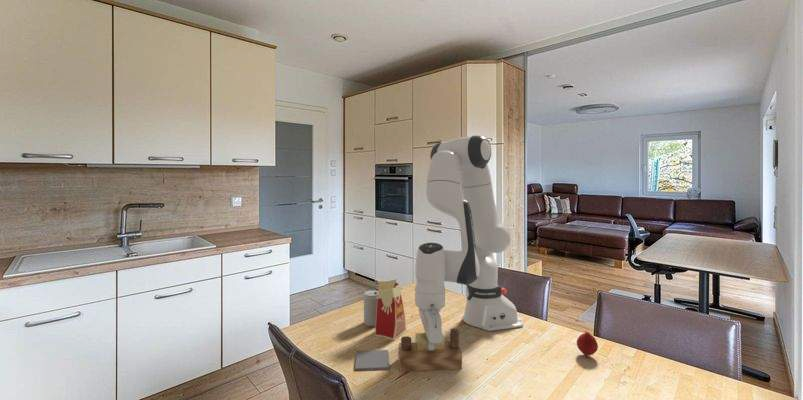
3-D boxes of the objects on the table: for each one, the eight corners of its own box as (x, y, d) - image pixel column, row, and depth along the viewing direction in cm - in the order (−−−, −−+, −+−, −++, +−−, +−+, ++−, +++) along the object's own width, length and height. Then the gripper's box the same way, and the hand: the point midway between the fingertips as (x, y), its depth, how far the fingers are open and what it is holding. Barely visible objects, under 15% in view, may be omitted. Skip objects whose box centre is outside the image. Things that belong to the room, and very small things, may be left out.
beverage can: (380, 327, 131) (380, 295, 130) (362, 327, 131) (362, 295, 130) (381, 320, 137) (381, 289, 136) (364, 320, 137) (364, 289, 136)
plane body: (456, 356, 111) (456, 325, 110) (461, 368, 104) (462, 335, 103) (398, 358, 110) (398, 327, 109) (400, 371, 103) (400, 338, 102)
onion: (595, 352, 114) (596, 328, 113) (598, 362, 108) (600, 336, 107) (575, 349, 115) (576, 325, 115) (577, 358, 110) (578, 333, 109)
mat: (388, 351, 114) (388, 349, 114) (389, 369, 104) (389, 367, 104) (356, 352, 113) (356, 350, 113) (355, 370, 103) (355, 368, 103)
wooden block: (441, 343, 109) (441, 332, 109) (444, 350, 104) (444, 339, 104) (415, 344, 108) (415, 333, 108) (417, 351, 104) (417, 340, 103)
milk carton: (406, 330, 129) (406, 276, 127) (395, 341, 121) (395, 283, 119) (384, 325, 133) (384, 272, 131) (371, 335, 124) (371, 279, 123)
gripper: (448, 312, 95) (447, 362, 96) (434, 287, 115) (434, 328, 116) (424, 313, 94) (424, 363, 96) (415, 287, 115) (414, 329, 116)
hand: (429, 344), depth 106 cm, fingers closed on wooden block, 4 cm apart
